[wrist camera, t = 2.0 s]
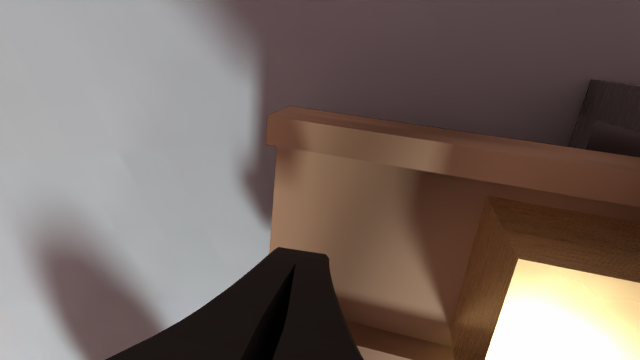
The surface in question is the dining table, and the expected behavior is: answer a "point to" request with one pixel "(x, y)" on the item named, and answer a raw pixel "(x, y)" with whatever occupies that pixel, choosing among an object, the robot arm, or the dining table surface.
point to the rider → (549, 286)
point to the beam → (416, 212)
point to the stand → (609, 119)
